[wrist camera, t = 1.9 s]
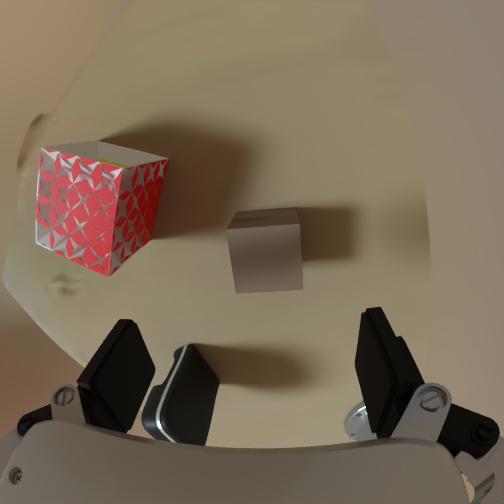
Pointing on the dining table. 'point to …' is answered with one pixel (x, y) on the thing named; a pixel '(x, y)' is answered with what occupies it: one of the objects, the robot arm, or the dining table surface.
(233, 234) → the walnut block
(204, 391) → the battery charger
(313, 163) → the dining table surface
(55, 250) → the puzzle cube
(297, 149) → the dining table surface
